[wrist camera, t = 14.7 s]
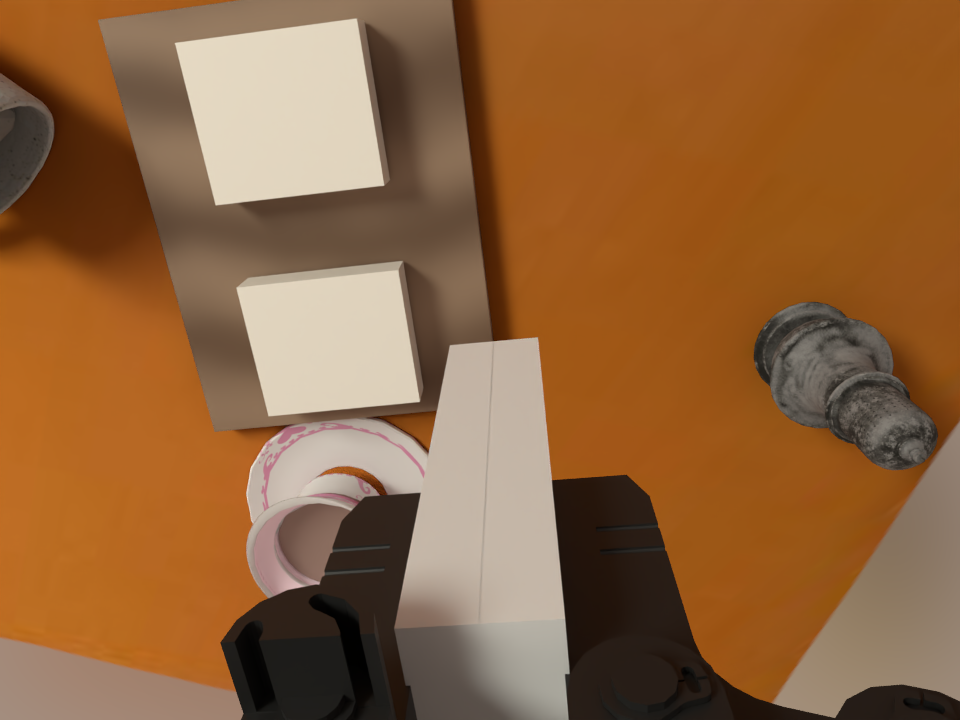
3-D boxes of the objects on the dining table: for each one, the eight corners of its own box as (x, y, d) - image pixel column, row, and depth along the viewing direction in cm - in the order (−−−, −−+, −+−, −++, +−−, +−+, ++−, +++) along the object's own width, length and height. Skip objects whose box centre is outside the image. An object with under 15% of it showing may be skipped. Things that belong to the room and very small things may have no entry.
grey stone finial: (744, 307, 38) (843, 405, 27) (860, 287, 38) (1008, 379, 27) (751, 406, 40) (845, 535, 29) (861, 389, 40) (999, 513, 29)
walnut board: (110, 21, 34) (97, 19, 33) (449, -26, 33) (447, -29, 32) (222, 421, 42) (214, 431, 41) (500, 395, 41) (499, 404, 40)
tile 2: (403, 260, 37) (249, 276, 37) (398, 269, 35) (236, 287, 35) (423, 386, 39) (279, 400, 40) (419, 401, 37) (268, 416, 38)
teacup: (208, 465, 43) (163, 527, 37) (378, 374, 41) (357, 424, 35) (324, 608, 47) (299, 684, 41) (485, 532, 44) (483, 601, 39)
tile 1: (365, 20, 33) (192, 44, 33) (356, 18, 31) (174, 42, 31) (390, 179, 35) (230, 198, 36) (384, 185, 33) (215, 205, 34)
